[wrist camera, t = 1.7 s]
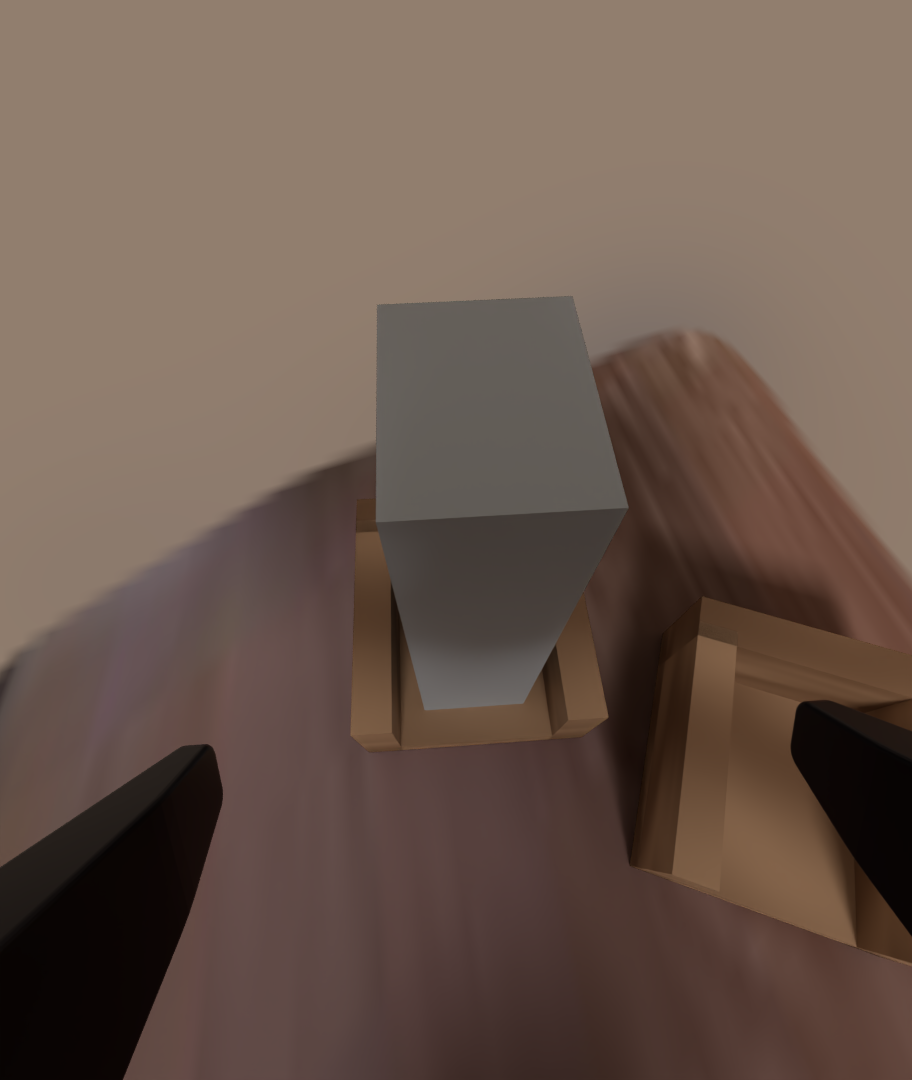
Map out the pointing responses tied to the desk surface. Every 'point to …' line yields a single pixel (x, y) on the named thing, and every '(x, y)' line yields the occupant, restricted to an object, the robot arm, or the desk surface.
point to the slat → (489, 487)
